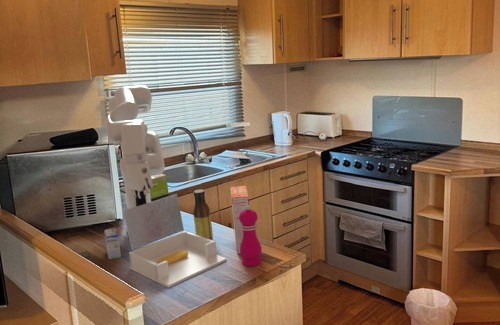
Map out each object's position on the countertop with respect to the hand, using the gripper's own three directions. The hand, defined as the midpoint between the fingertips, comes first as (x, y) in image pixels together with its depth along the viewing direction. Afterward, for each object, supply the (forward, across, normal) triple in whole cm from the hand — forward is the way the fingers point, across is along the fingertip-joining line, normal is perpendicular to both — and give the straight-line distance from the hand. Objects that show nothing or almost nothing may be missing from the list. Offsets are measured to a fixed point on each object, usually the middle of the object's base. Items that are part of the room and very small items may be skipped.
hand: (141, 208), depth 170 cm
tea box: (+17, +49, -35) cm, 63 cm away
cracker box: (+17, -26, -24) cm, 39 cm away
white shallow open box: (+17, -18, 0) cm, 24 cm away
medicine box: (+17, +8, +9) cm, 21 cm away
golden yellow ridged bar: (+16, -16, 0) cm, 23 cm away
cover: (+3, -8, 0) cm, 9 cm away
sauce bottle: (+17, -10, -19) cm, 27 cm away
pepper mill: (+17, -38, -16) cm, 44 cm away
